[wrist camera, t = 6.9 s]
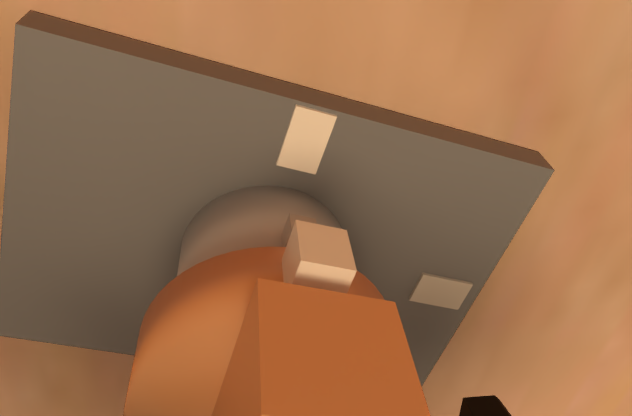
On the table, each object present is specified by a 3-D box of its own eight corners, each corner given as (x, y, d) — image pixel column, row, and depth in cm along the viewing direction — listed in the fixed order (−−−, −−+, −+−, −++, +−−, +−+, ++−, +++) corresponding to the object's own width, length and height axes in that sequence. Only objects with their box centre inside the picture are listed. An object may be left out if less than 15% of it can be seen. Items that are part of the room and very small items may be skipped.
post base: (6, 310, 17) (-50, 427, 14) (30, 10, 13) (-45, 78, 10) (408, 372, 21) (440, 480, 17) (538, 152, 16) (614, 238, 13)
